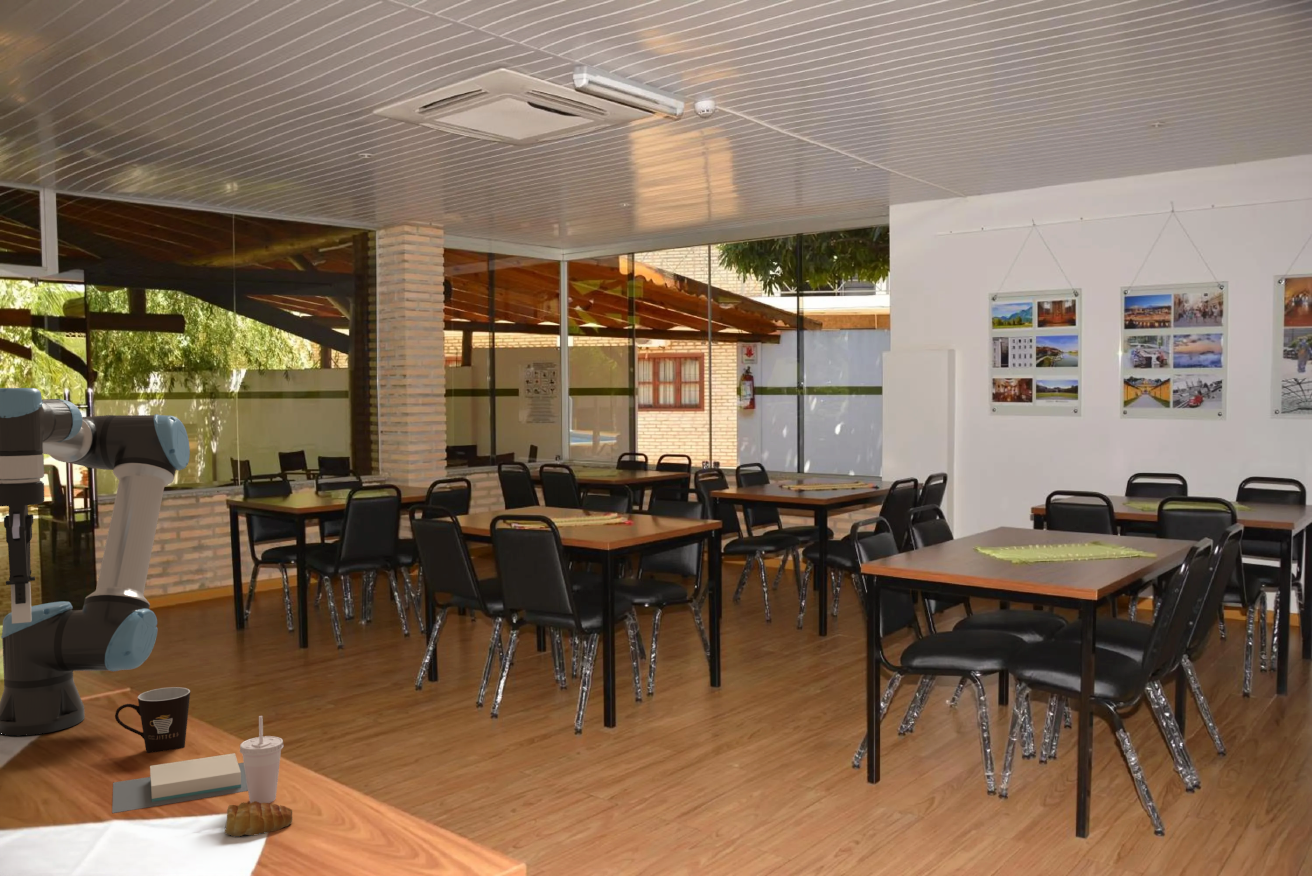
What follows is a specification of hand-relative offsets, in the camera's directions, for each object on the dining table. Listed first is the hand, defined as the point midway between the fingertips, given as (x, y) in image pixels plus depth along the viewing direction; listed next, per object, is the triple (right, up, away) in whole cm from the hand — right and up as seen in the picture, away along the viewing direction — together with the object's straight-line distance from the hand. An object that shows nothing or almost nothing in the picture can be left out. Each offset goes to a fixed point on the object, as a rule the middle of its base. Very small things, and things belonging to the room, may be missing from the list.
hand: (21, 621), depth 173 cm
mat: (+29, -27, -4) cm, 39 cm away
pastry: (+46, -28, -19) cm, 57 cm away
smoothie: (+44, -27, -10) cm, 53 cm away
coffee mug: (+15, -26, +16) cm, 34 cm away
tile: (+25, -25, -7) cm, 36 cm away
